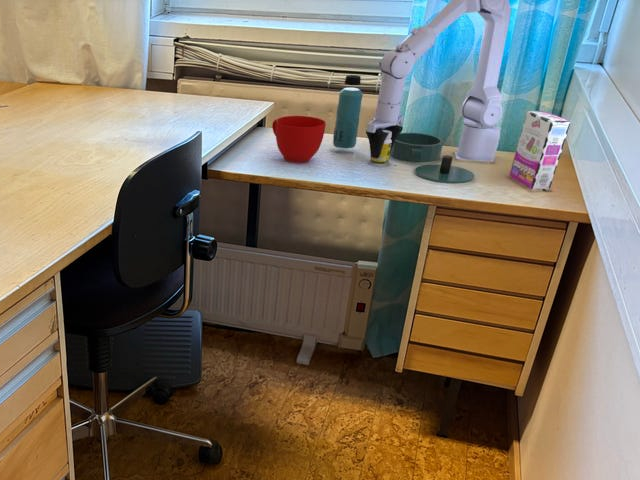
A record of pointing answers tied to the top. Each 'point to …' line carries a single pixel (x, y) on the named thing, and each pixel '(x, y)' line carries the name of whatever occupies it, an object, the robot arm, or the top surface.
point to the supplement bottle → (384, 150)
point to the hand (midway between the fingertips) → (380, 155)
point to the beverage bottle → (348, 114)
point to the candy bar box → (539, 149)
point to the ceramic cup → (298, 137)
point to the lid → (444, 172)
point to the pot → (417, 147)
